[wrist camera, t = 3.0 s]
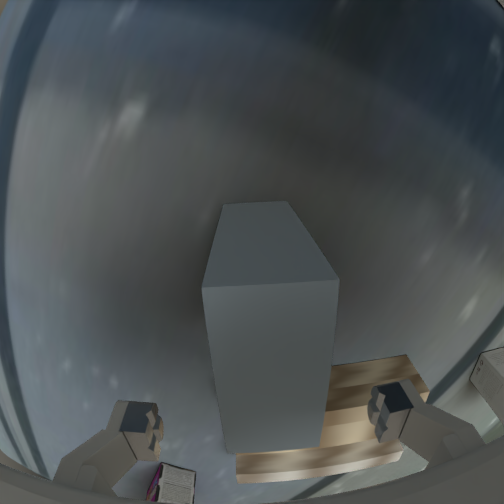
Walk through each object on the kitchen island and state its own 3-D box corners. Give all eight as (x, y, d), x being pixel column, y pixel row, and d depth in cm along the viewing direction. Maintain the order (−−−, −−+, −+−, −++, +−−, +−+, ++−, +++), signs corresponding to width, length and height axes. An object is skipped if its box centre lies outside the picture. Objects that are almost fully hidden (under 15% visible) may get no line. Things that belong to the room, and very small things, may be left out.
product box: (287, 200, 22) (339, 279, 10) (287, 313, 25) (318, 446, 13) (221, 204, 22) (196, 287, 10) (230, 316, 25) (223, 453, 13)
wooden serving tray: (406, 354, 28) (429, 391, 22) (383, 427, 31) (397, 461, 26) (228, 373, 27) (226, 419, 22) (237, 445, 31) (238, 484, 26)
